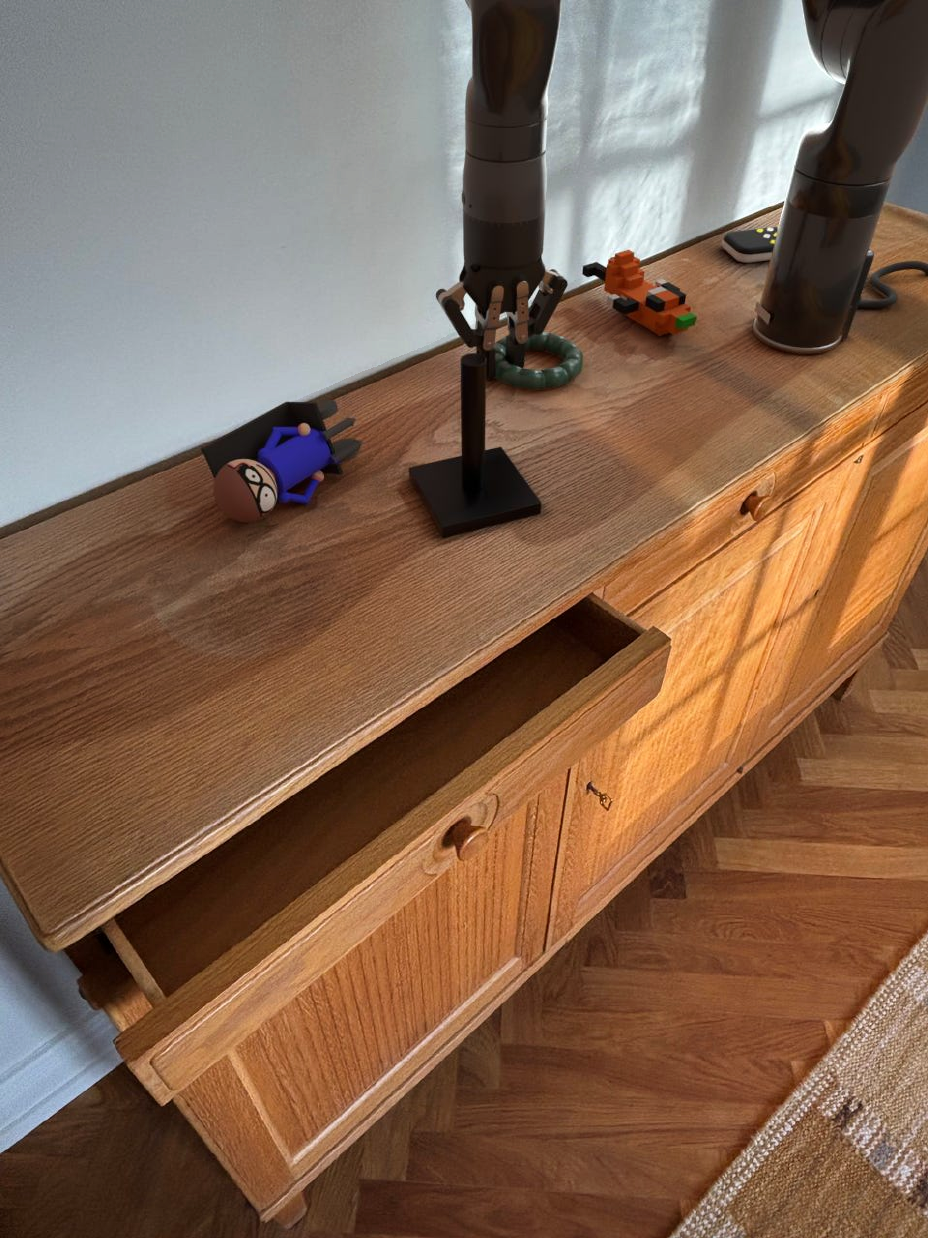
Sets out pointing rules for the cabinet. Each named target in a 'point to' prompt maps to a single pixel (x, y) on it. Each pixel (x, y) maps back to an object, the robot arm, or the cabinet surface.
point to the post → (473, 470)
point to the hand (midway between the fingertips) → (500, 374)
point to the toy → (642, 295)
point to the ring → (546, 376)
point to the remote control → (751, 244)
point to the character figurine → (276, 458)
